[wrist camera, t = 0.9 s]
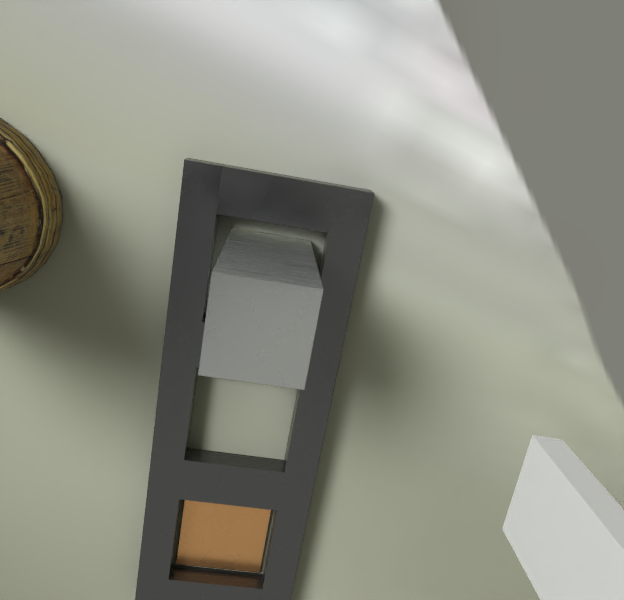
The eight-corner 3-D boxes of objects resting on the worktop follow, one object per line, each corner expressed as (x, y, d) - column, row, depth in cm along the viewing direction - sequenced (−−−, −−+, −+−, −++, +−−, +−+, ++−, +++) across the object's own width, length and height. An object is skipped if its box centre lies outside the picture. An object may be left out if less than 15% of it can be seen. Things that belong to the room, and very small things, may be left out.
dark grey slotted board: (139, 591, 35) (134, 607, 34) (188, 157, 28) (184, 159, 27) (285, 606, 36) (285, 621, 35) (370, 190, 29) (374, 193, 27)
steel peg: (221, 302, 30) (198, 375, 21) (231, 227, 29) (211, 271, 20) (297, 314, 30) (304, 389, 22) (310, 240, 29) (323, 289, 21)
